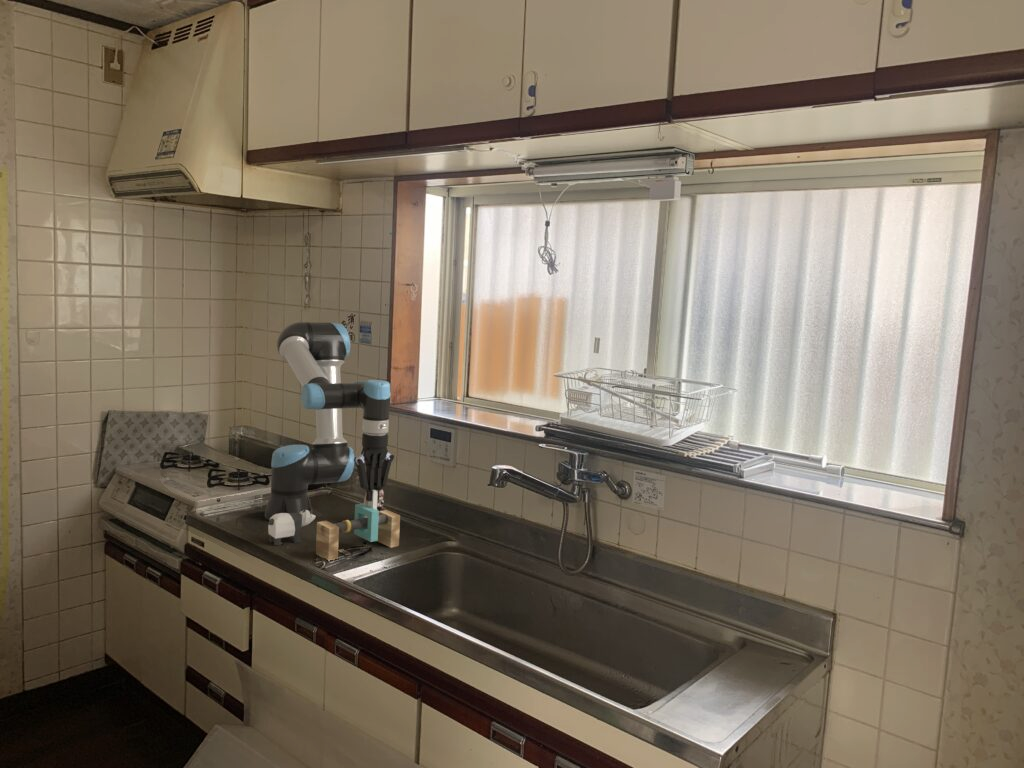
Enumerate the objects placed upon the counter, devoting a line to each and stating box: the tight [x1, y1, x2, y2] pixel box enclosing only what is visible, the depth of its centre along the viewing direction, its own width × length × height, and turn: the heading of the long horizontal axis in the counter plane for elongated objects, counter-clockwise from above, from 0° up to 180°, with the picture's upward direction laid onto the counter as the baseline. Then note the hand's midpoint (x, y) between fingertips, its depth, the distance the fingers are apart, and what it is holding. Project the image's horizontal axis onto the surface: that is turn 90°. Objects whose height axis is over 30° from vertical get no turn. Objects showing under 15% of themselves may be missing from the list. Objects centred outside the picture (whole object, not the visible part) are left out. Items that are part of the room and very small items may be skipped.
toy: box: [362, 489, 388, 529], centre depth 251 cm, size 9×8×15 cm
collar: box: [353, 503, 379, 543], centre depth 229 cm, size 2×9×9 cm, turn 44°
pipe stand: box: [315, 509, 401, 562], centre depth 228 cm, size 24×7×10 cm, turn 133°
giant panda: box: [267, 508, 317, 546], centre depth 233 cm, size 15×6×10 cm, turn 130°
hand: (372, 511), depth 230 cm, fingers closed
